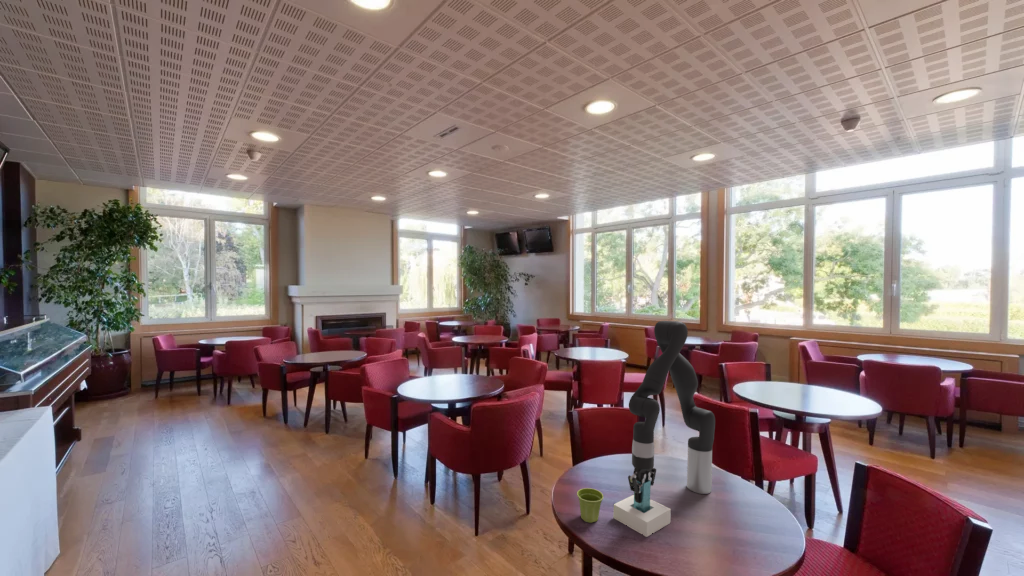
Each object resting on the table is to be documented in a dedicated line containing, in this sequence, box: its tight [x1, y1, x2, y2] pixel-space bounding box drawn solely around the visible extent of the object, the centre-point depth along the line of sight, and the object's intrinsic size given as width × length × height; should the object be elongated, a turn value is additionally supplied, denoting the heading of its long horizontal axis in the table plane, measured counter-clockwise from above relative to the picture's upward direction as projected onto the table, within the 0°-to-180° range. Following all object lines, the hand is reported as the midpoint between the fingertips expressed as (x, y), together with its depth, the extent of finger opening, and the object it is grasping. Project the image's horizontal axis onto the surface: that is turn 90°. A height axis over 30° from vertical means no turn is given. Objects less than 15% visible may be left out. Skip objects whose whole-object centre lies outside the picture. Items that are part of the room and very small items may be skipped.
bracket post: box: [633, 480, 652, 513], centre depth 152 cm, size 4×4×12 cm
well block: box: [612, 494, 672, 538], centre depth 152 cm, size 14×14×5 cm
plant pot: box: [576, 487, 604, 524], centre depth 153 cm, size 9×9×9 cm
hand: (641, 499), depth 152 cm, fingers closed on bracket post, 4 cm apart
